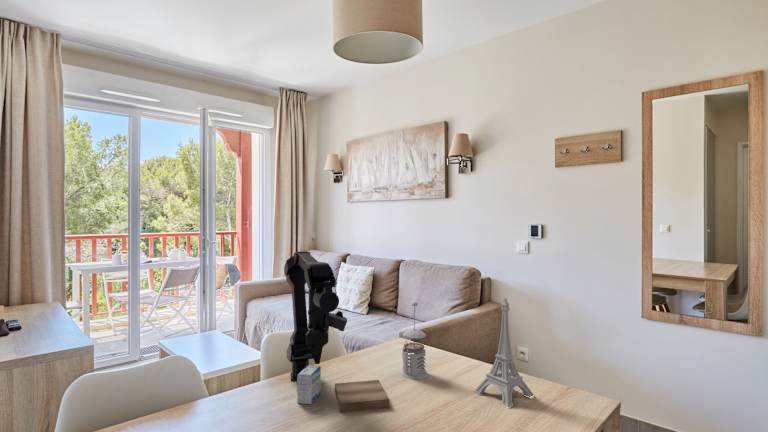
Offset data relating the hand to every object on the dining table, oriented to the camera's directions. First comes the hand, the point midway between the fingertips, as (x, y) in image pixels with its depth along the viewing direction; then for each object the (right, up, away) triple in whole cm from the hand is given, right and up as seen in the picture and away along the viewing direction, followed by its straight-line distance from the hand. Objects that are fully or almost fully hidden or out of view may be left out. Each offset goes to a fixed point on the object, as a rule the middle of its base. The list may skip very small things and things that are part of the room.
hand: (318, 358), depth 122 cm
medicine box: (-3, -13, +2) cm, 13 cm away
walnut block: (+12, -13, +1) cm, 18 cm away
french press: (+29, -13, +21) cm, 38 cm away
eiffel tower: (+57, -13, +6) cm, 59 cm away
